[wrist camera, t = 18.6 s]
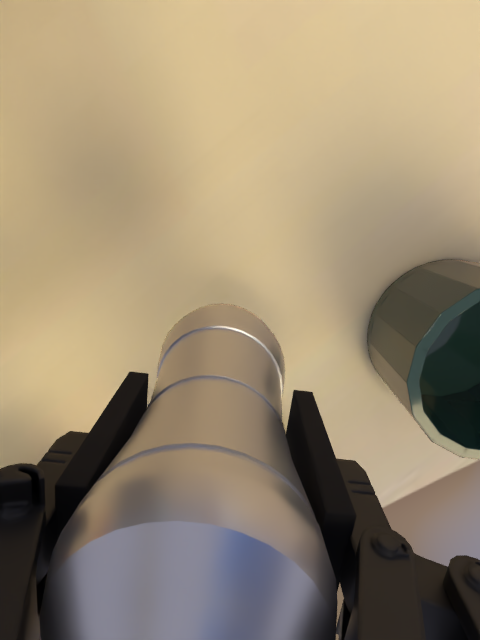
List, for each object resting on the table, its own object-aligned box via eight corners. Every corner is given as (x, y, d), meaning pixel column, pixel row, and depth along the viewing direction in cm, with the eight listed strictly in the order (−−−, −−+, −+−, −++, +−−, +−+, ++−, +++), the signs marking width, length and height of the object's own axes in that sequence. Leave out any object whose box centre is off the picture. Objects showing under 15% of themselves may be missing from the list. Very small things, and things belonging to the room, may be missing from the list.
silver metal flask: (254, 276, 21) (331, 926, 2) (297, 380, 23) (544, 1234, 4) (149, 319, 22) (-459, 1070, 3) (198, 416, 24) (13, 1273, 5)
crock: (385, 250, 32) (437, 267, 23) (535, 269, 32) (643, 292, 23) (353, 389, 35) (389, 449, 27) (489, 405, 36) (568, 469, 27)
